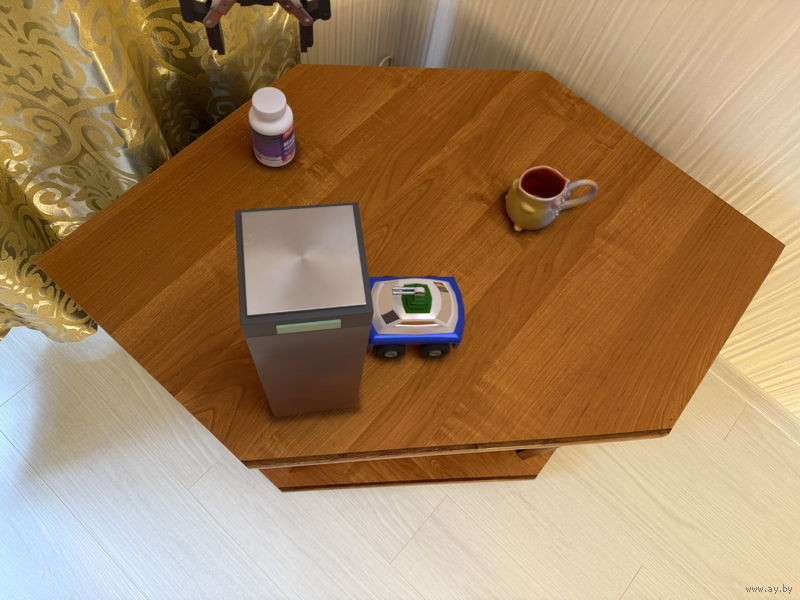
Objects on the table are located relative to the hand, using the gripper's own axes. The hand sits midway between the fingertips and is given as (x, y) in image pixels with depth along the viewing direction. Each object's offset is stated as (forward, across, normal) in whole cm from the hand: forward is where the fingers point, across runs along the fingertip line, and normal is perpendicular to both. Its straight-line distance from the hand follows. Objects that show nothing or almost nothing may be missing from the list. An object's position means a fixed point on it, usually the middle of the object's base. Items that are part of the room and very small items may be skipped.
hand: (262, 48), depth 63 cm
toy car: (+18, -14, +26) cm, 34 cm away
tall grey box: (+17, -2, +31) cm, 36 cm away
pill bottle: (+18, 0, 0) cm, 18 cm away
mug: (+18, -35, +12) cm, 41 cm away
